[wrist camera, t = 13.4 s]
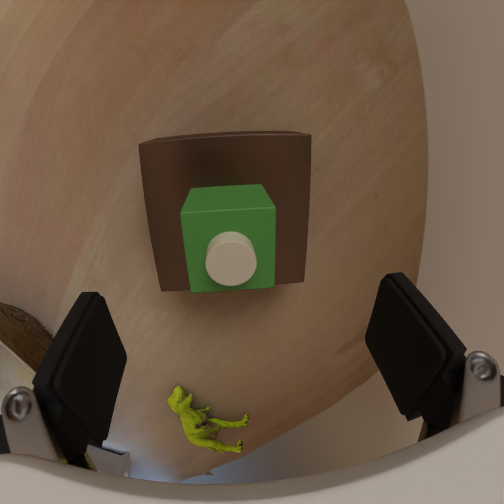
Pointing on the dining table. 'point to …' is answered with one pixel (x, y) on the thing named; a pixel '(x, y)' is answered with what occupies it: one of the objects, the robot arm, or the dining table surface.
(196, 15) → the dining table surface
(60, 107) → the dining table surface
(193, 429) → the dinosaur figurine
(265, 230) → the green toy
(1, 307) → the bowl
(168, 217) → the walnut block
